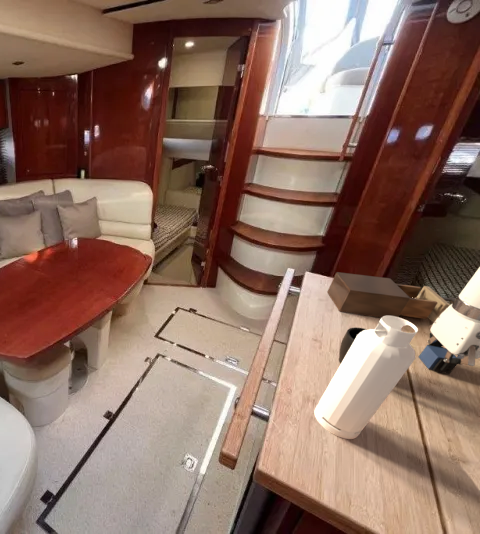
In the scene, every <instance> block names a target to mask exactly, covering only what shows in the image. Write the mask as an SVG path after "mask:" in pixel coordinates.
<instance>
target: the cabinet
mask: <svg viewBox="0 0 480 534" xmlns="http://www.w3.org/2000/svg"><path fill="white" fill-rule="evenodd" d="M396 284H397V283H395V281H394V280H392V279H391V278H389V277H381V276H372V275H364V274H357V273H355V274H354V273H348V272H339V271H336V272H335V275H334V276H333V278H332V281H331V283H330V285H329V288H328V290H327V291H326V293H327V295H328V296H329V298H330V299H331V301H332V303H333V304H334V305H335V307H336V309H337V310H338V311H339V313H346V314H353V315H360V316H367V317H374V318H380V319H381V318H382V317H383V316H395V317H399V316H401V315H400V313H401V312H402V310H403V309H404V307H405V306H406V304H407V302H408V301H409V299H410V297H409V296H408V295H407V294H406V293H405V292H404V291H403V290H402V289H400V288H399V287H398V286H397V285H396Z"/></svg>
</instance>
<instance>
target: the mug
mask: <svg viewBox="0 0 480 534" xmlns="http://www.w3.org/2000/svg"><path fill="white" fill-rule="evenodd" d="M364 330H368V328H364V327H356V326H355V327H350V328H348V329H347V331H346V332H345V334H344V336H343V338H342V339H341V343H340V347H339V353H338V355H339V356H338V357H339V358H338V362H339V364H341V363H342V361H343V359H344V357H345V356H346V354H347V352H348V351H349V349H350V347H351V345H352V344H353V342H354V340H355V338H356V337H357V335H358V334H359V333H360V332H362V331H364Z"/></svg>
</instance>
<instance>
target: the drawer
mask: <svg viewBox="0 0 480 534" xmlns="http://www.w3.org/2000/svg"><path fill="white" fill-rule="evenodd" d="M395 284H396V285H397V286H398V287H399V288H400V289H402V290H403V291H404V292H405V293H406V294H407V295H408V296H409V297H410V299H409V301H408V302H407V304H406V306H405V307H404V309H403V310H402V312H401V313H400V315H399V316H403V317H410V318H416V319H423V320H427V319H429V320H430V321H431V322H432V323H434V322H435V321H436V319H437V318H438V317H439V316H440V315H441V314H442V313H443V312H444V311H445V310H446V309H447V308H448V307H449V306H450V305H451V304H453V303H454V301H455V300H456V299H457V297H455V296H454V297H453V296H452V297H450V298H449V297H442V296H440V294H438V293H437V292H436V291H435V290H433V288H431V286H427V285H424V286H423V287H421V286H416V285H409V284H401V283H400V284H399V283H395ZM412 297H413V298H412ZM449 302H450V303H451V304H450V303H449Z"/></svg>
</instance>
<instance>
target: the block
mask: <svg viewBox="0 0 480 534" xmlns="http://www.w3.org/2000/svg"><path fill="white" fill-rule="evenodd" d="M447 351H448V350H447V349H446V348H445V347H444V348H441V347H435V346H429V344H426V346H425V347H424V349H423V350H422V351H421V352H420V354H419V355H418V359H419V360H420V361H421V362H422V363H423V364H424V365H425V367H426V368H427V369H428V370H431V371H434V370H433V368H434V367H435V365H436V364H437V363H438V362H439V360H440V359H444V357H445V355H446V353H447ZM452 358H457V355H454V354H453V357H452Z"/></svg>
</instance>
